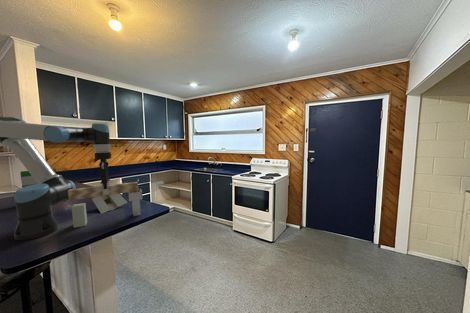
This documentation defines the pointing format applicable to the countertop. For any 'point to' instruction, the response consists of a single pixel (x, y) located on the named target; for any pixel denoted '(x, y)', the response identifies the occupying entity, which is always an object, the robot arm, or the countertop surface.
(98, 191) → the rail
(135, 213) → the cup bracket
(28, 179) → the hardback book
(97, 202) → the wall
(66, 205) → the countertop surface
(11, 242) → the countertop surface
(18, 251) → the countertop surface
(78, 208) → the post
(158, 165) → the countertop surface
